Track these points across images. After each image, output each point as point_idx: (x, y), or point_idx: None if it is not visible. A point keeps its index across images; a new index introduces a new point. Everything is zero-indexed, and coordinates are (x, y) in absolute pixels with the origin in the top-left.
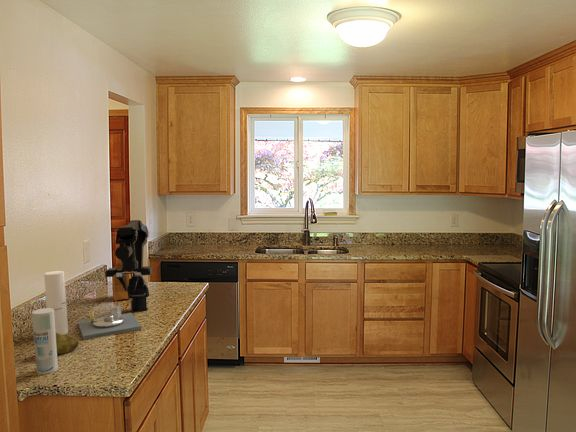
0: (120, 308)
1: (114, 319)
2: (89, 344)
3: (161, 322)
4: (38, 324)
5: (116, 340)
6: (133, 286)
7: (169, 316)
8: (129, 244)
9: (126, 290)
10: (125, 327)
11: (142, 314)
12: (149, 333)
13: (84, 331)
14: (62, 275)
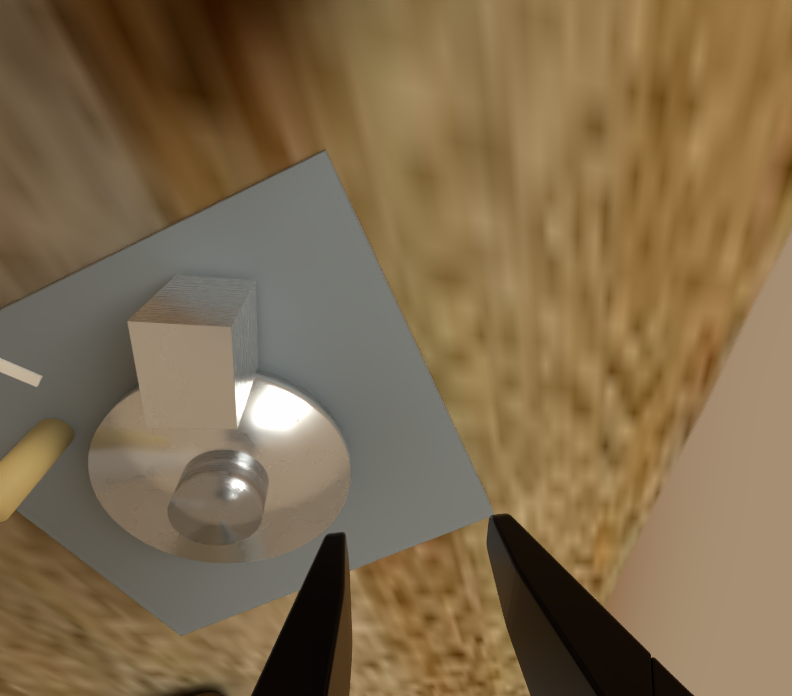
0: (239, 328)
1: (270, 467)
2: (261, 649)
3: (616, 377)
4: None
5: (382, 613)
6: (530, 679)
7: (697, 230)
8: None
9: (349, 576)
10: (395, 532)
11: (437, 105)
12: (539, 543)
13: (137, 585)
14: None
